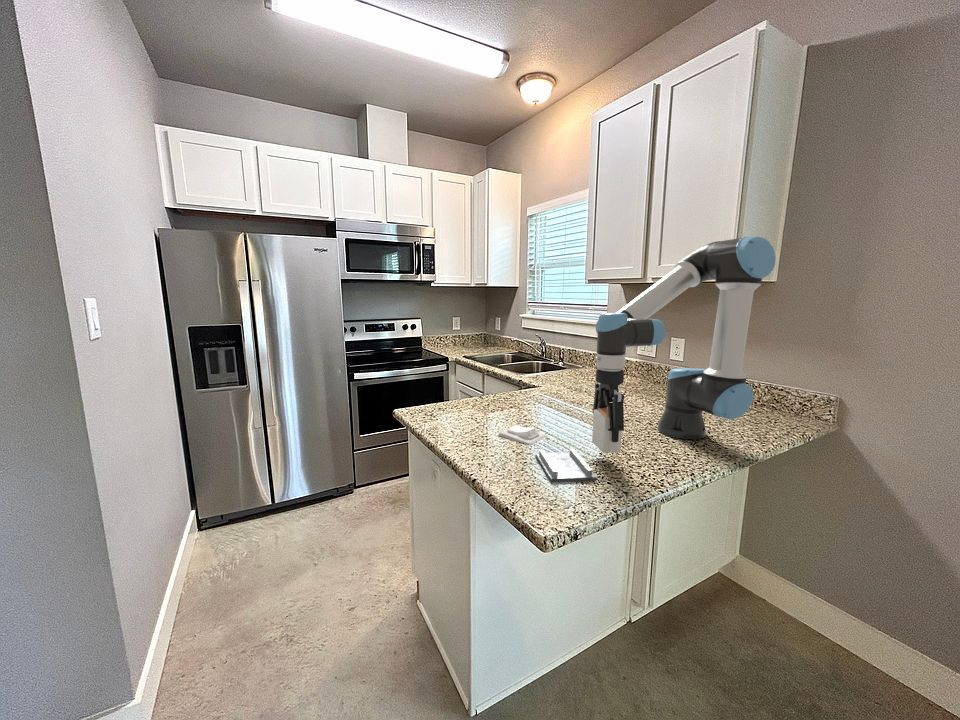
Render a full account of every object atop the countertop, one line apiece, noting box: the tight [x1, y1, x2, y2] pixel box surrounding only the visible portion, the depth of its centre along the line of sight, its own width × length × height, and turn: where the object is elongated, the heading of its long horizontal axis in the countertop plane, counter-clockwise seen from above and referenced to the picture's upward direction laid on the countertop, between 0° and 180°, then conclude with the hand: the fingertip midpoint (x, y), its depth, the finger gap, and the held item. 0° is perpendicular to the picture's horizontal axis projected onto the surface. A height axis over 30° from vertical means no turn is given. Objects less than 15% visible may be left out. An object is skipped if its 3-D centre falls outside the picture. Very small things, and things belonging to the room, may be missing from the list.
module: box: [591, 407, 623, 454], centre depth 111 cm, size 5×8×11 cm, turn 6°
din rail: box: [535, 448, 597, 483], centre depth 107 cm, size 12×16×2 cm
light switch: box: [498, 424, 548, 446], centre depth 130 cm, size 11×4×13 cm
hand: (605, 445), depth 112 cm, fingers closed on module, 8 cm apart
